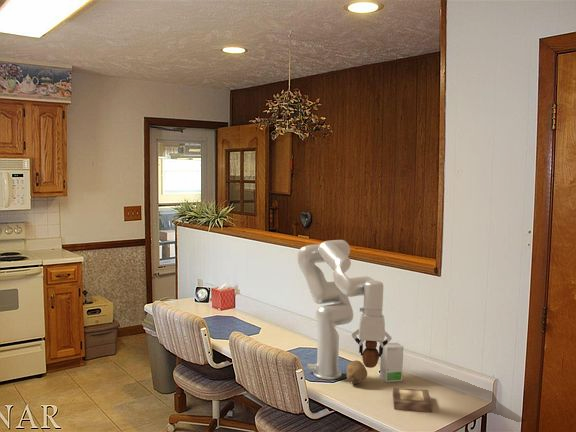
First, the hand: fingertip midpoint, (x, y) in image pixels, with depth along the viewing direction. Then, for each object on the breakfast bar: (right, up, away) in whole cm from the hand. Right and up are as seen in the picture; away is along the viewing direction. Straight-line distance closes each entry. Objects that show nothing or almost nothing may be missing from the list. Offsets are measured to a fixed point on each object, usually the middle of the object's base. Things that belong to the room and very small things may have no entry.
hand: (370, 354), depth 219 cm
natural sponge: (-4, -17, +16) cm, 23 cm away
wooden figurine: (0, -5, 0) cm, 5 cm away
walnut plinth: (+16, -18, -3) cm, 24 cm away
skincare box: (+12, -16, +21) cm, 30 cm away
